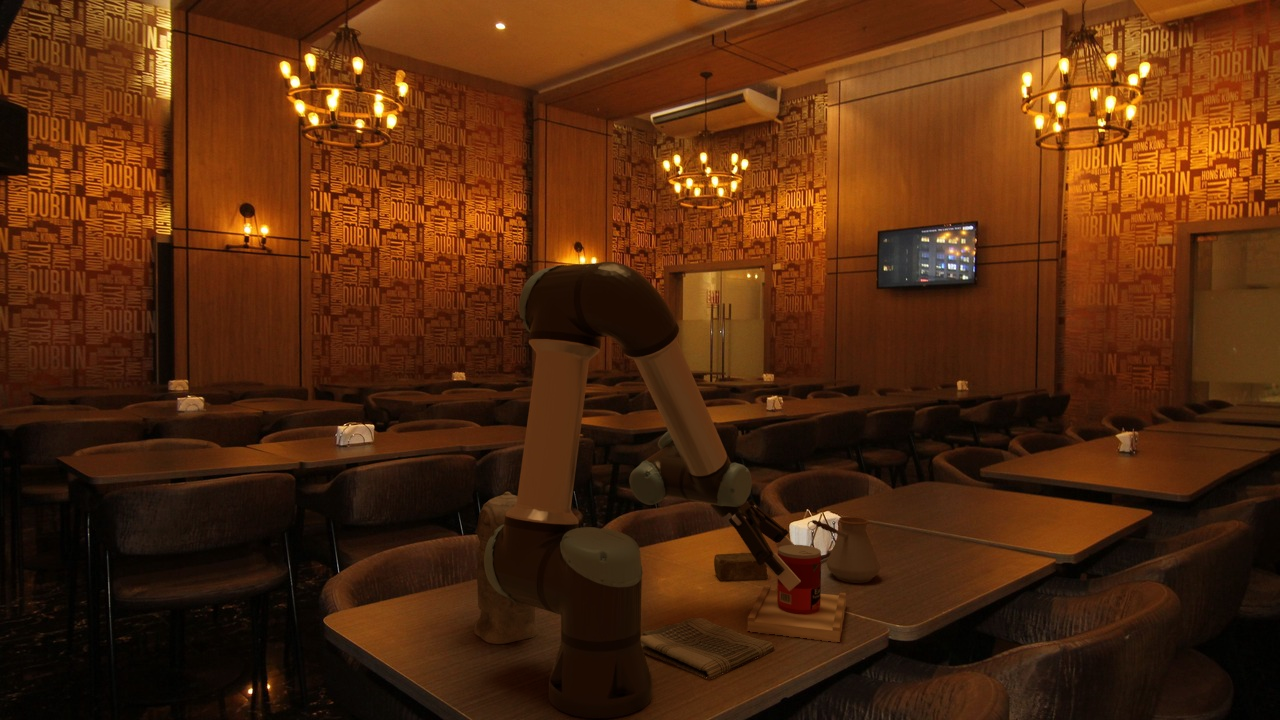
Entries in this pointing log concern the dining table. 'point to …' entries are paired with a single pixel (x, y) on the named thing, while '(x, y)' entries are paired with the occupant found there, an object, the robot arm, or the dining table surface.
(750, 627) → the board
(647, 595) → the dining table surface
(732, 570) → the stone block
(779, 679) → the dining table surface
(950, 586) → the dining table surface
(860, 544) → the coffee pot
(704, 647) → the dish towel
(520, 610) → the figurine
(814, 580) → the canned food
